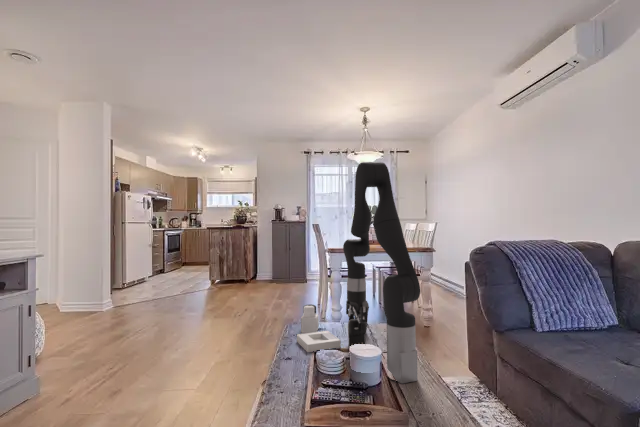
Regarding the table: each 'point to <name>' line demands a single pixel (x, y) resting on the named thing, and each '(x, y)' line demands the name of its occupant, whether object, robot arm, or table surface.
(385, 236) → the robot arm
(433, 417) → the table surface
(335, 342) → the charging dock
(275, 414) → the table surface
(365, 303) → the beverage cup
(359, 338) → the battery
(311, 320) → the medicine bottle
